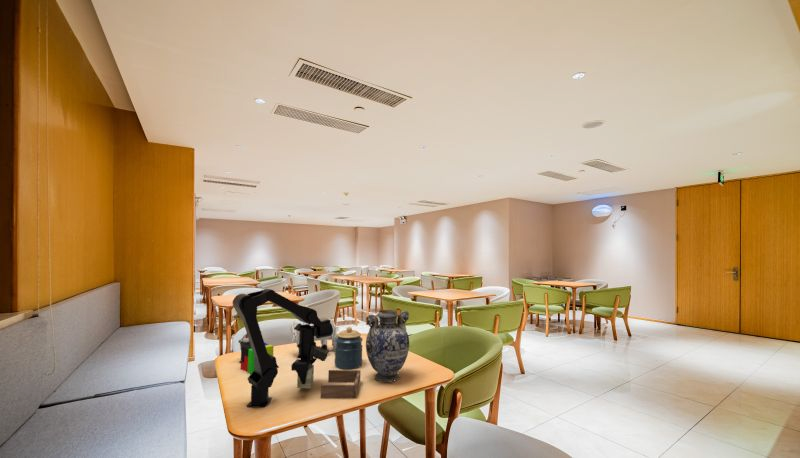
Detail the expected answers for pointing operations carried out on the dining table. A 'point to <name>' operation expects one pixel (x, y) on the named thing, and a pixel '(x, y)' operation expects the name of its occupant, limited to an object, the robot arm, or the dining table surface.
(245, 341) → the dark lantern
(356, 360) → the canister
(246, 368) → the puzzle toy
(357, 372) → the open wooden frame
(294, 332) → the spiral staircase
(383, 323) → the decorative vase
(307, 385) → the block
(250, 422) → the dining table surface
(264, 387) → the robot arm
